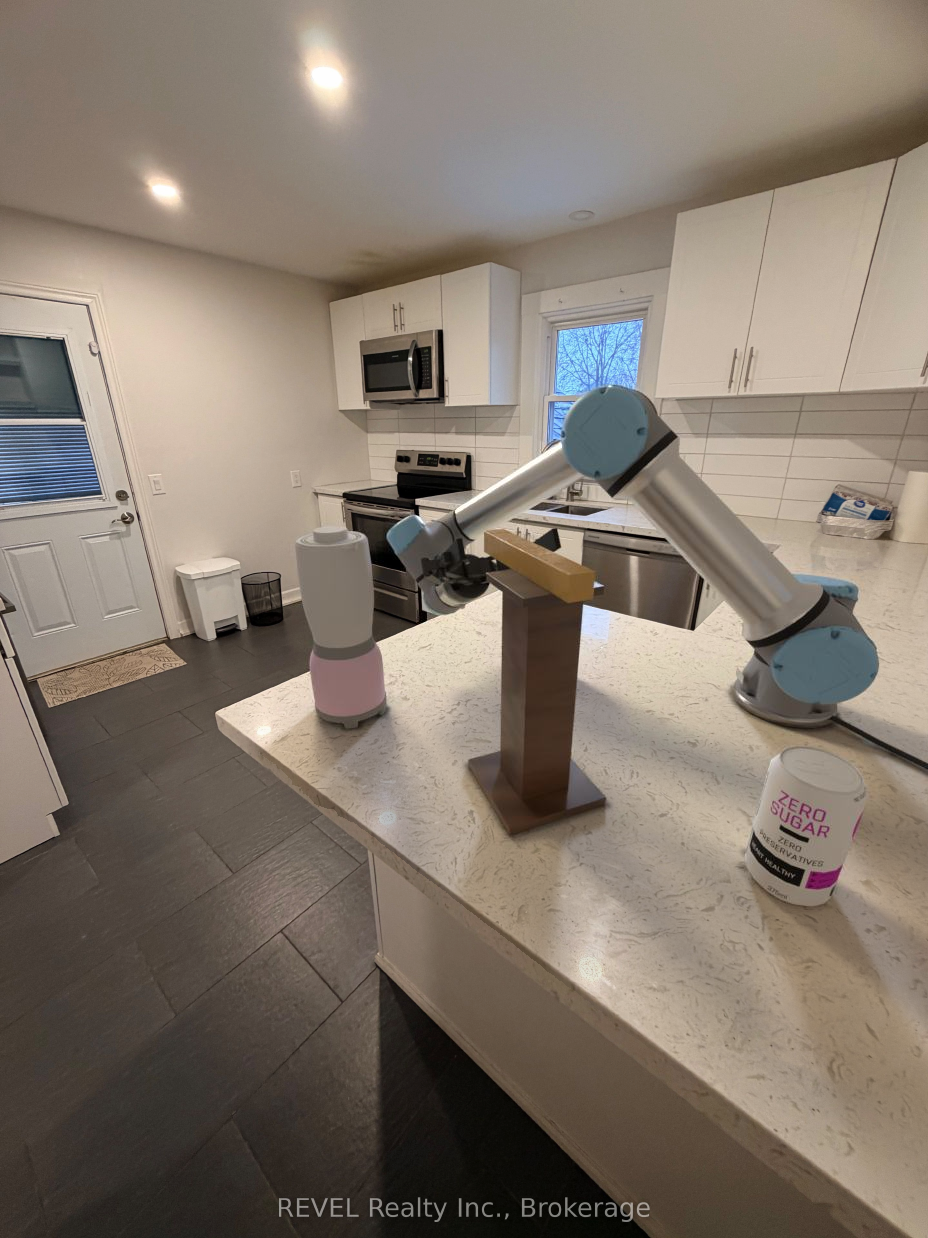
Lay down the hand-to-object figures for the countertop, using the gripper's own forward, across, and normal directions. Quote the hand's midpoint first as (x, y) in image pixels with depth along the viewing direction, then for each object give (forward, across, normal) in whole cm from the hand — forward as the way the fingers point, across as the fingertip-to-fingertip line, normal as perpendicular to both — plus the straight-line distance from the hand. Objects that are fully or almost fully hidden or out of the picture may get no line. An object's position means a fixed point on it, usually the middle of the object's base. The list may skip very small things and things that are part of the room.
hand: (510, 543), depth 64 cm
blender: (-35, +21, -17) cm, 45 cm away
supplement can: (+11, -19, -44) cm, 49 cm away
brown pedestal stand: (-9, 0, -32) cm, 33 cm away
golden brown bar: (+4, 0, -5) cm, 6 cm away
